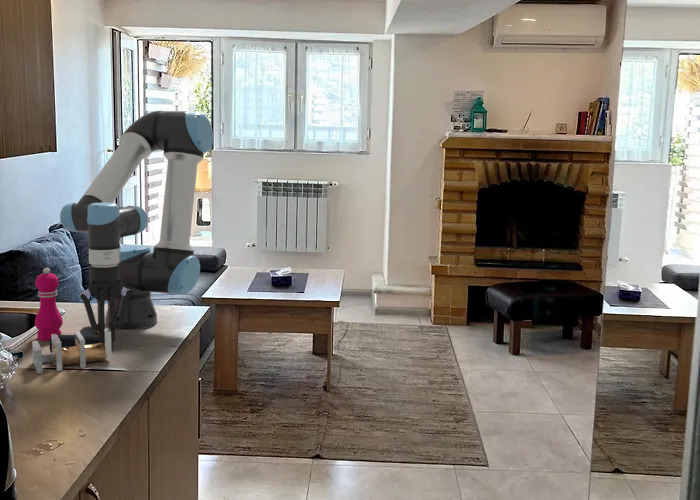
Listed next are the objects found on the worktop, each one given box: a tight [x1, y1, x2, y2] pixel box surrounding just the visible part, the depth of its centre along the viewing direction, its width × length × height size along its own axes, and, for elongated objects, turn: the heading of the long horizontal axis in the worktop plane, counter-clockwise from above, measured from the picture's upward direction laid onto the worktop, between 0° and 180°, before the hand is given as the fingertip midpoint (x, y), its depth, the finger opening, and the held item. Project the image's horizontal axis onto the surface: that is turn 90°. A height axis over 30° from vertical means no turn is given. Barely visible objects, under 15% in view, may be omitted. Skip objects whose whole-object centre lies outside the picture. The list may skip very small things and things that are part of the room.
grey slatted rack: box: [31, 331, 87, 375], centre depth 185 cm, size 11×9×7 cm
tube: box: [53, 343, 107, 367], centre depth 187 cm, size 12×4×4 cm, turn 120°
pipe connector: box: [49, 325, 114, 353], centre depth 198 cm, size 12×5×15 cm
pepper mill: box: [34, 267, 64, 342], centre depth 206 cm, size 7×7×20 cm
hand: (107, 354), depth 190 cm, fingers closed
